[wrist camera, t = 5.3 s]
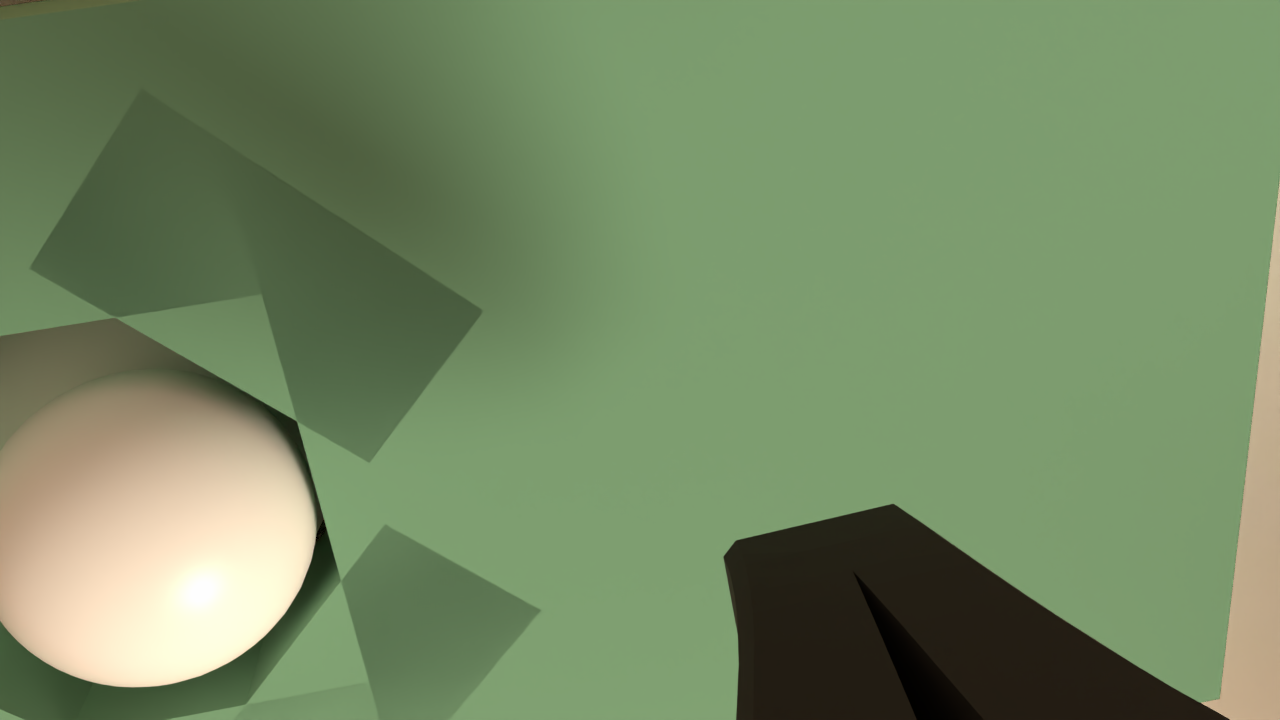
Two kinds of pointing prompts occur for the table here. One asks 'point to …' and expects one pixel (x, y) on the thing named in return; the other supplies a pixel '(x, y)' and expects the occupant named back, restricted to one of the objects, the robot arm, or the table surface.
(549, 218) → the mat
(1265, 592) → the table surface
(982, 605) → the robot arm
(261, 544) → the ball
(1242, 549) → the table surface
